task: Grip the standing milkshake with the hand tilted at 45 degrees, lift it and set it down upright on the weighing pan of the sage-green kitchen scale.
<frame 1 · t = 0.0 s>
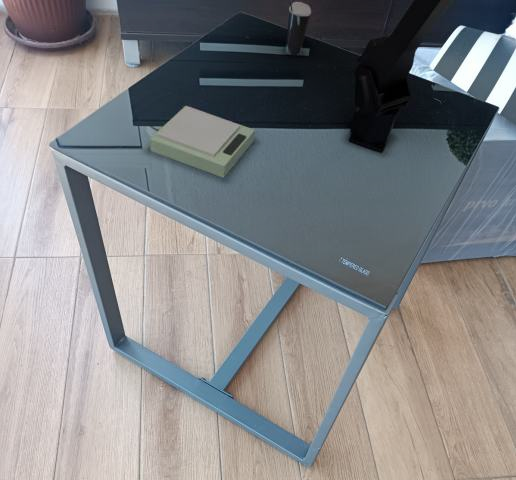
milkshake: (291, 53, 106), on the table
scale: (203, 146, 82), on the table
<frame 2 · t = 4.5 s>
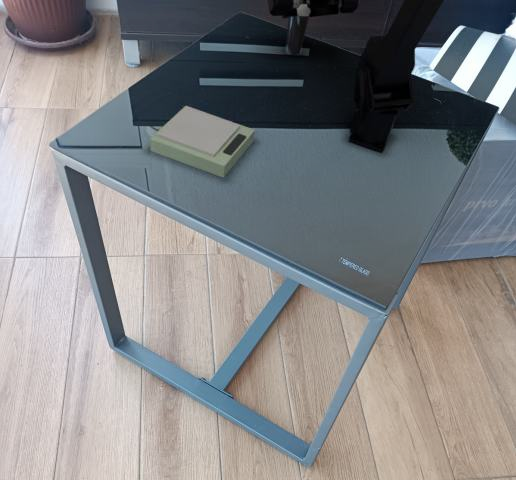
hand: (294, 15, 102), 7 cm above the table, tool tilted 45°, fingers closed on milkshake, 5 cm apart
milkshake: (291, 53, 106), on the table, touching gripper
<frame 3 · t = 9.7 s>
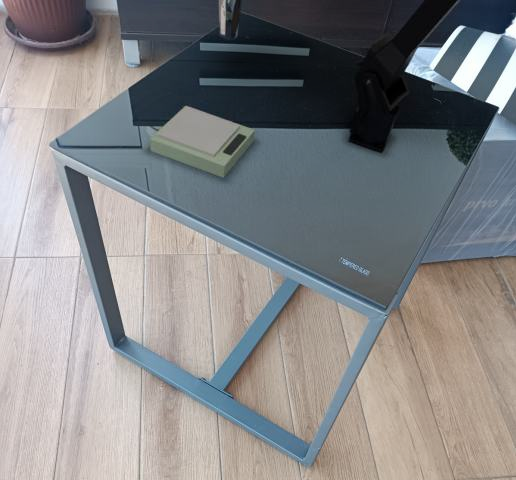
milkshake: (227, 37, 92), point 6 cm above the table, touching gripper
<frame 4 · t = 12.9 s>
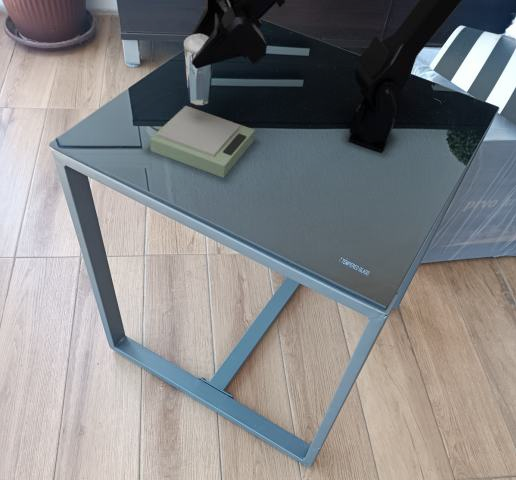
hand: (191, 56, 72), 13 cm above the table, tool tilted 45°, fingers closed on milkshake, 5 cm apart
milkshake: (199, 102, 77), point 6 cm above the table, touching gripper
when the fingers open (9 cm above the table, at t = 15.3 s): milkshake stays where it is, resting on scale.
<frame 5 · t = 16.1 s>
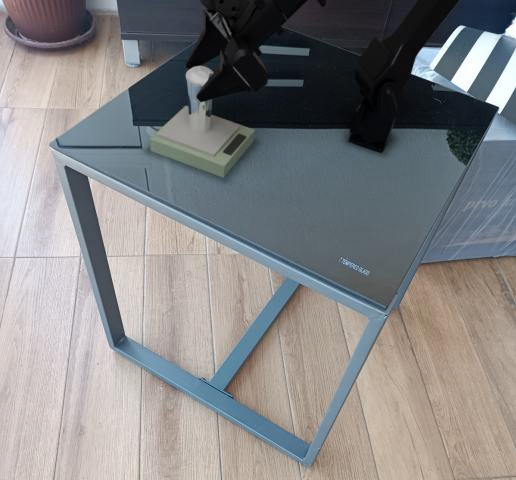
hand: (192, 83, 74), 10 cm above the table, tool tilted 45°, fingers open, 9 cm apart
milkshake: (200, 130, 80), point 3 cm above the table, touching scale
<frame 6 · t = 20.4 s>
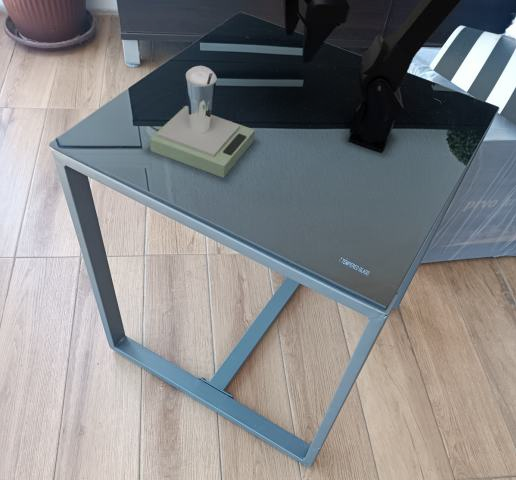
hand: (297, 48, 78), 13 cm above the table, tool pointing down, fingers open, 9 cm apart
nothing on the table moved.
at the end: milkshake inside the target area on the scale (0.2 cm from its centre), point 2.6 cm above the scale's base; milkshake tilted 0°; the gripper is holding nothing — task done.
